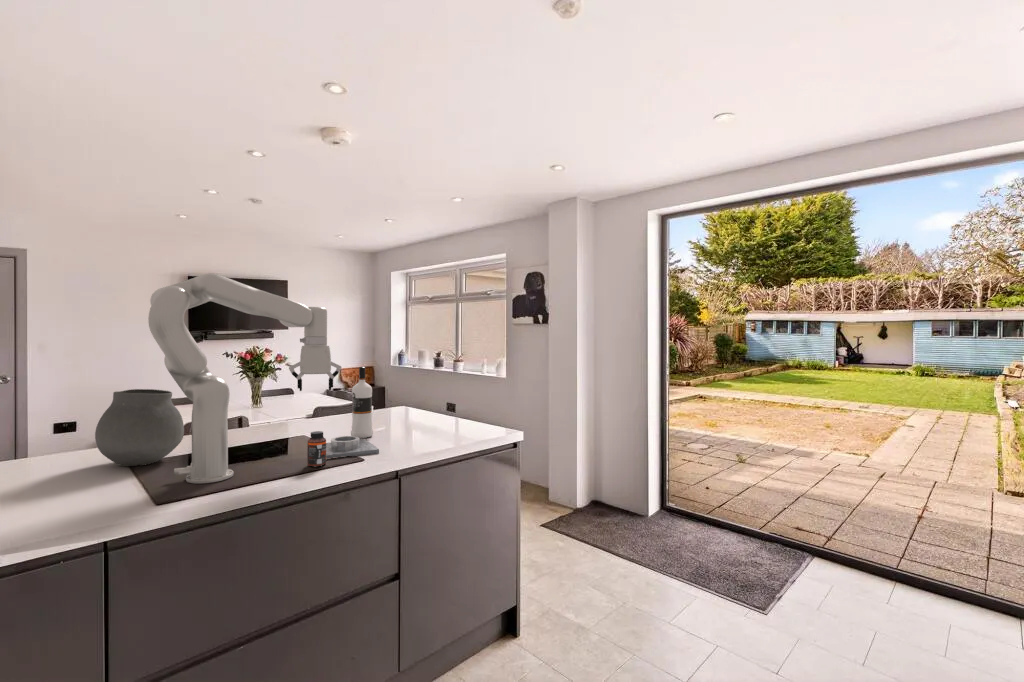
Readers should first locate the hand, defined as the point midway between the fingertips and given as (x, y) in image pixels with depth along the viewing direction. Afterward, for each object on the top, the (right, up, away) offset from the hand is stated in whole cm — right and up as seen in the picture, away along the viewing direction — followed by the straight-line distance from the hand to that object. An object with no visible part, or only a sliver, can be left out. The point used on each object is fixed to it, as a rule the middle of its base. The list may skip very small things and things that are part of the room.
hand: (315, 390), depth 177 cm
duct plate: (+6, -24, +13) cm, 28 cm away
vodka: (+5, -24, +38) cm, 45 cm away
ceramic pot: (-57, -24, -7) cm, 62 cm away
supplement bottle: (+3, -25, -7) cm, 26 cm away
